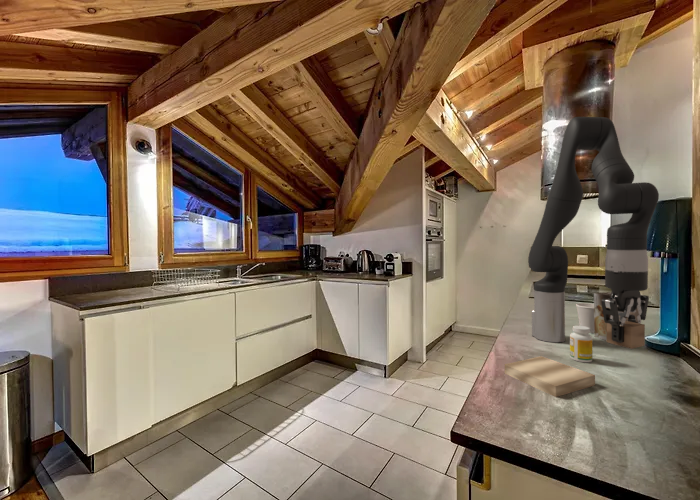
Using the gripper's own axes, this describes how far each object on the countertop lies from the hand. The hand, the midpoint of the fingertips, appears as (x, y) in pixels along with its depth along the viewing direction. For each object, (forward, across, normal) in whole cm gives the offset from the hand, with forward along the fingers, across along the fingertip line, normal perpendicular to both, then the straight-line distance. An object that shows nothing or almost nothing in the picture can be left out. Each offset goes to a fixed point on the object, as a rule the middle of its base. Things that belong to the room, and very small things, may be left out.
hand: (625, 339), depth 74 cm
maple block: (+12, +12, -10) cm, 20 cm away
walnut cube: (+1, 0, 0) cm, 1 cm away
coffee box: (+12, -37, -23) cm, 45 cm away
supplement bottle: (+12, -9, -16) cm, 22 cm away
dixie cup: (+12, -41, -33) cm, 54 cm away
